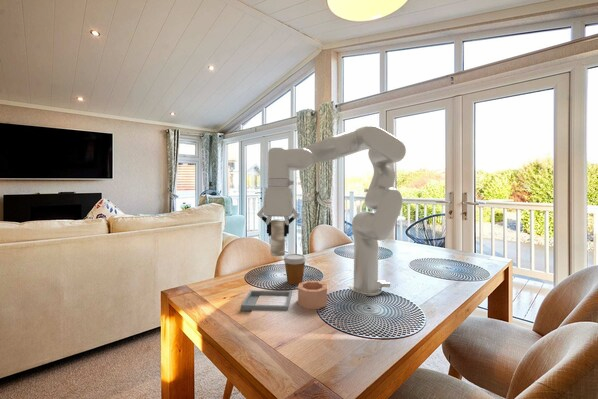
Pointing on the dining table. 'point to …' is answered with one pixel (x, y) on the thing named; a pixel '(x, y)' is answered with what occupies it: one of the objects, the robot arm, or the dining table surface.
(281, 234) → the peg
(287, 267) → the disposable coffee cup
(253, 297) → the tray
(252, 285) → the dining table surface
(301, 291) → the terracotta octagonal pot
